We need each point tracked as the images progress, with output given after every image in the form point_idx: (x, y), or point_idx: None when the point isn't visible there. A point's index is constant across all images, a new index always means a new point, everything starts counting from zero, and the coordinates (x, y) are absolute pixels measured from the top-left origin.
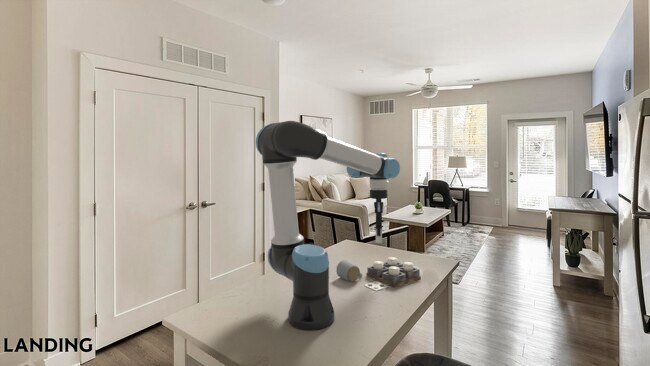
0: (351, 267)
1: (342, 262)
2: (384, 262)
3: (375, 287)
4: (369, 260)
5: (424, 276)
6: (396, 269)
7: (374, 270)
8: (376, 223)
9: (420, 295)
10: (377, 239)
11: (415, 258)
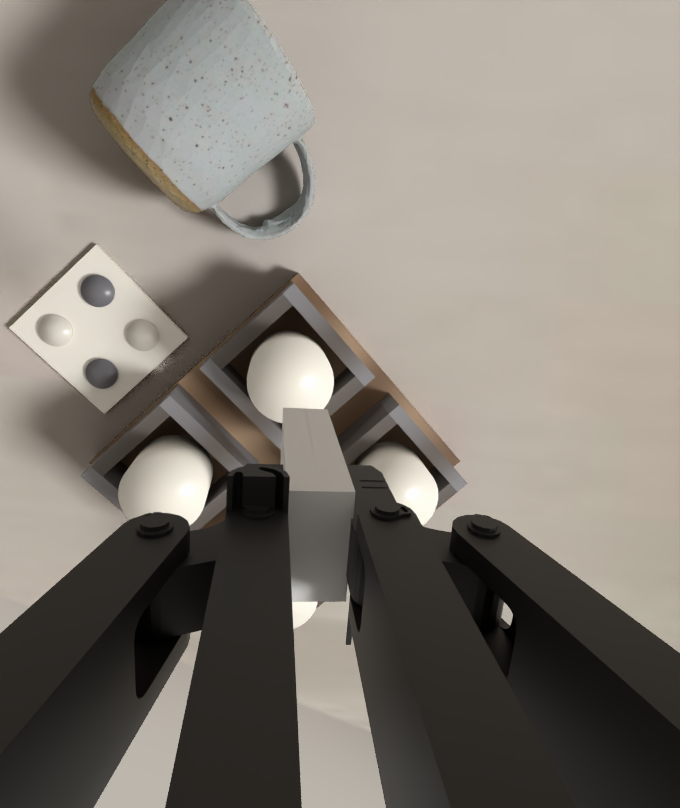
0: (108, 115)
1: (204, 7)
2: (416, 427)
3: (52, 326)
4: (627, 314)
5: (310, 629)
6: (131, 510)
7: (233, 338)
8: (62, 591)
9: (3, 578)
10: (282, 446)
11: (629, 614)
